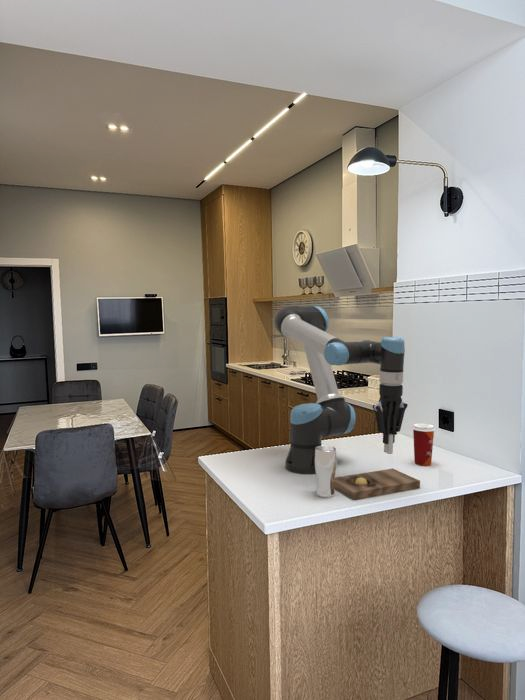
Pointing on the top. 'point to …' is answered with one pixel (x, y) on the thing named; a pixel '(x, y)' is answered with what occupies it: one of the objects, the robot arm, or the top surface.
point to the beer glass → (325, 470)
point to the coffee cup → (423, 443)
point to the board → (375, 484)
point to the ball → (361, 481)
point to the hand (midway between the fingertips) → (388, 452)
